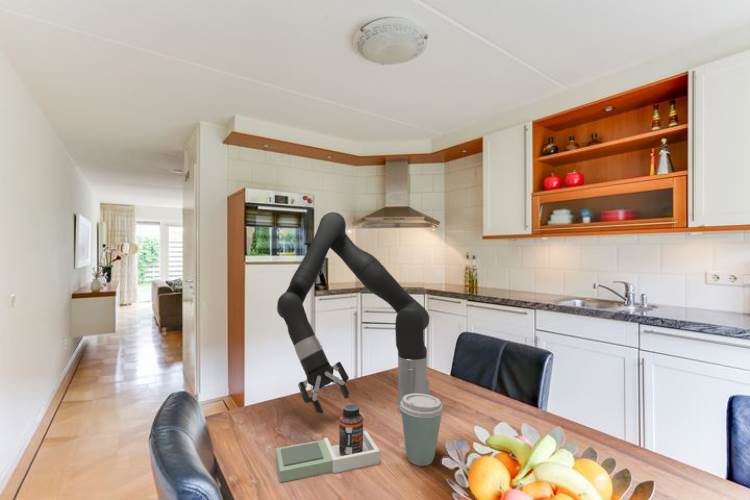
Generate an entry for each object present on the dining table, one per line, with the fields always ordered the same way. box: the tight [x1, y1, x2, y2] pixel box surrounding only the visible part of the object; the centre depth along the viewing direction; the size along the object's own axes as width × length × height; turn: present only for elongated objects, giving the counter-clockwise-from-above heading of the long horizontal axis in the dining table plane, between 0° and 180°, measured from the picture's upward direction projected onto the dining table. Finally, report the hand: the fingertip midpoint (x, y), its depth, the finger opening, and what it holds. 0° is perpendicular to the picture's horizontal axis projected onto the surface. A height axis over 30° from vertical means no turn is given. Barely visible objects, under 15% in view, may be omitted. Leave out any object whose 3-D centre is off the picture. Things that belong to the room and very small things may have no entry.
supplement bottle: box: [338, 403, 364, 456], centre depth 92 cm, size 6×6×11 cm
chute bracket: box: [323, 430, 381, 474], centre depth 91 cm, size 12×10×3 cm
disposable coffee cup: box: [399, 393, 444, 467], centre depth 90 cm, size 11×11×15 cm
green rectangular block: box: [275, 439, 333, 484], centre depth 88 cm, size 12×10×3 cm
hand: (334, 405), depth 107 cm, fingers open, 8 cm apart
